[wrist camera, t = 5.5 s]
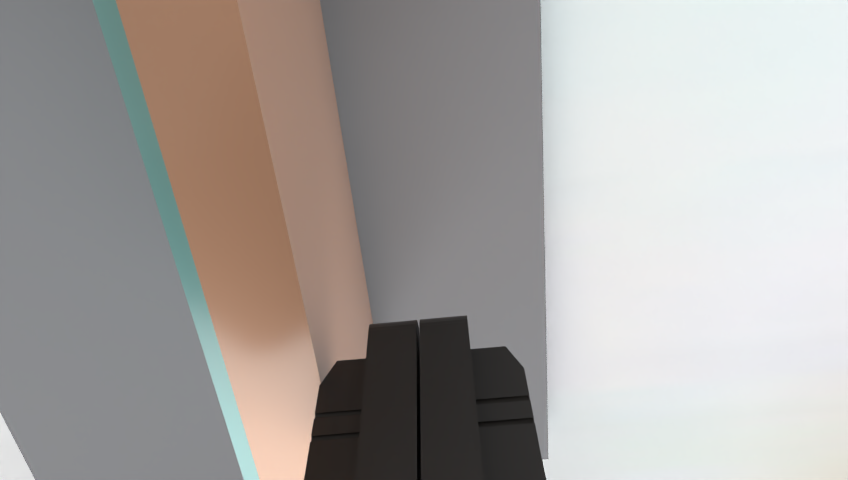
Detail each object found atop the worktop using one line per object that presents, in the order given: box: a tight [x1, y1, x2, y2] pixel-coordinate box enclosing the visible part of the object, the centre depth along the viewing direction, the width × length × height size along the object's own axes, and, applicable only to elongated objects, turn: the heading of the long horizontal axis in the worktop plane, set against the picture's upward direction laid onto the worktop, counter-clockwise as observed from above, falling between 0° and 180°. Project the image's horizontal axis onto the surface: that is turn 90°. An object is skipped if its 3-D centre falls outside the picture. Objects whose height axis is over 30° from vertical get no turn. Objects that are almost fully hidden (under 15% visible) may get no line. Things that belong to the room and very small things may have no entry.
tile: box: [92, 0, 373, 480], centre depth 15 cm, size 14×10×2 cm
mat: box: [0, 0, 548, 480], centre depth 20 cm, size 26×18×3 cm
